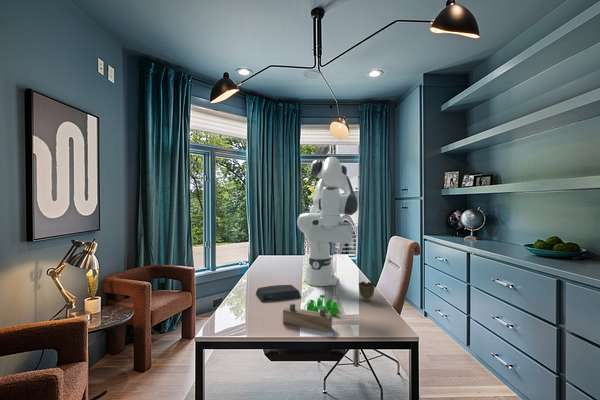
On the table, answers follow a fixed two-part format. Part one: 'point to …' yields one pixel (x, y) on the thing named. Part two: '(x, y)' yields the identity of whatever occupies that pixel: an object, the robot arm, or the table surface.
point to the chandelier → (320, 305)
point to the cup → (366, 290)
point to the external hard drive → (277, 293)
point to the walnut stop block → (307, 318)
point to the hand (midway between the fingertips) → (329, 252)
